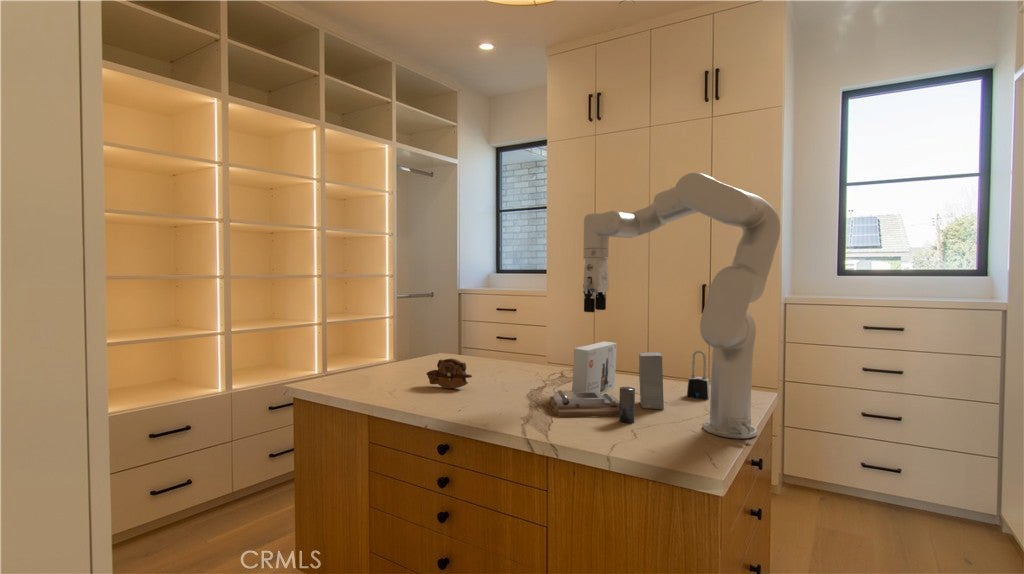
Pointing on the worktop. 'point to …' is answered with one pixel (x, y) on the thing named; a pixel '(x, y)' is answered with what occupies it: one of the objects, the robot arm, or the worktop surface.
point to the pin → (626, 405)
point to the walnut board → (584, 411)
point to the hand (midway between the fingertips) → (595, 310)
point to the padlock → (698, 382)
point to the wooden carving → (449, 374)
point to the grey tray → (584, 399)
